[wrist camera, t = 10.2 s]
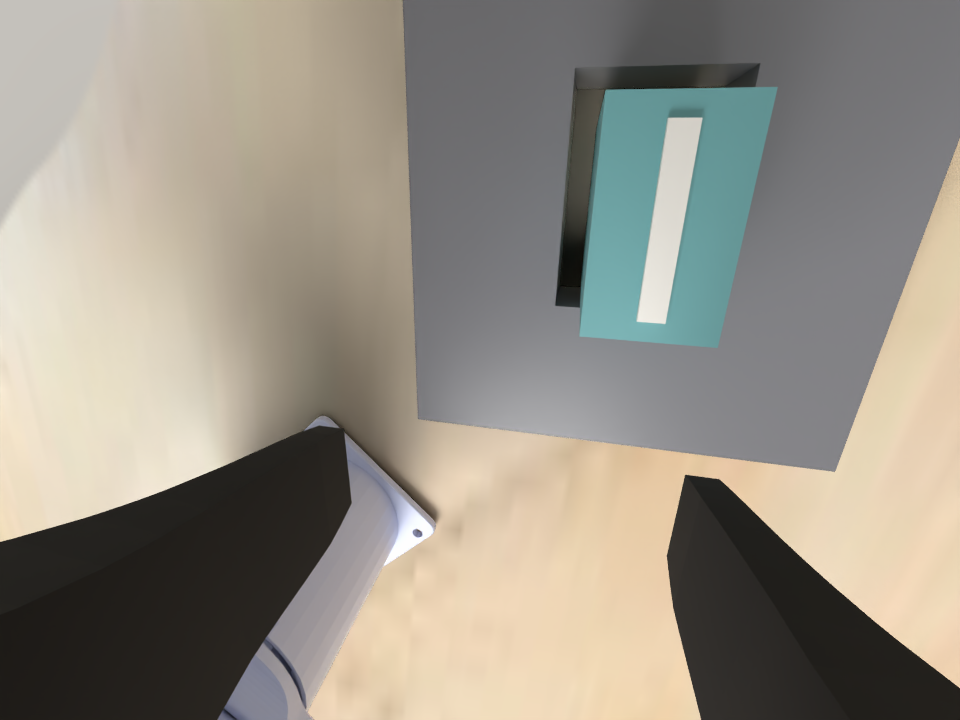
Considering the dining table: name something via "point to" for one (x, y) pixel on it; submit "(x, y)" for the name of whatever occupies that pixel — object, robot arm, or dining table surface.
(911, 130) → the keyed socket
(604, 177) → the keyed peg
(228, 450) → the dining table surface
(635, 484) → the dining table surface
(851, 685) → the robot arm
